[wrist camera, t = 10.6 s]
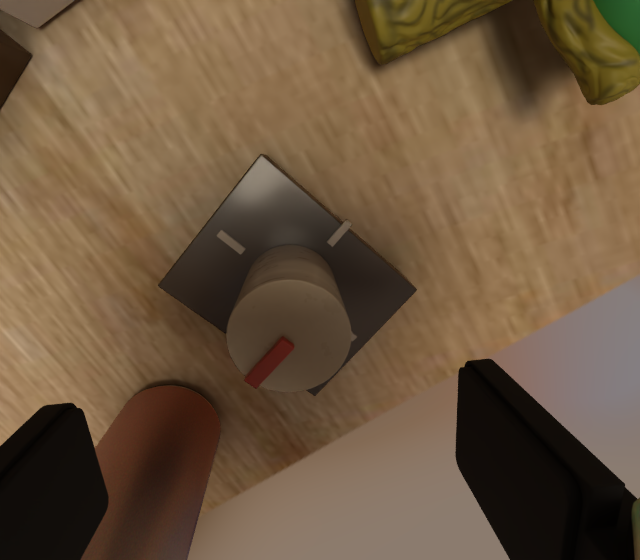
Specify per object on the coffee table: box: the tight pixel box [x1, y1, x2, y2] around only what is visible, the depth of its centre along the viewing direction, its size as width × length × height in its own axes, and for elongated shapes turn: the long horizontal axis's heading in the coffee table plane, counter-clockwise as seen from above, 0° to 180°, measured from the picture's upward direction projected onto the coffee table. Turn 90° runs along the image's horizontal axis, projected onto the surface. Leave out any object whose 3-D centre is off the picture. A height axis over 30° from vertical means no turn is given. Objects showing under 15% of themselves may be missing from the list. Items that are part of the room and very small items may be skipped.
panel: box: [158, 154, 417, 396], centre depth 19 cm, size 10×9×3 cm
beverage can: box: [81, 385, 221, 560], centre depth 16 cm, size 6×6×15 cm
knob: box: [226, 245, 351, 392], centre depth 16 cm, size 4×4×6 cm
